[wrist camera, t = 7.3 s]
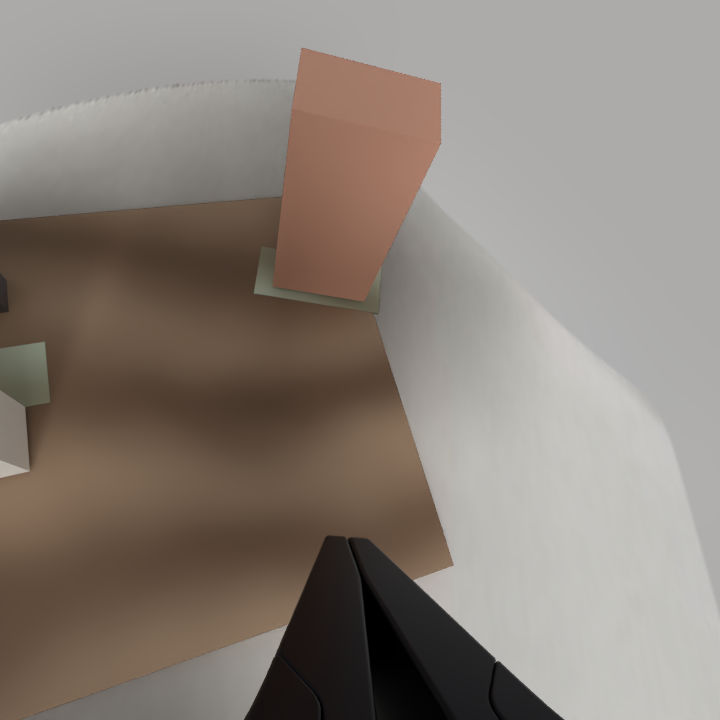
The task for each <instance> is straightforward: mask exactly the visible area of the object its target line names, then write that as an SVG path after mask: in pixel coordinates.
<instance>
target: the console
mask: <svg viewBox="0 0 720 720" xmlns="http://www.w3.org/2000/svg"><path fill="white" fill-rule="evenodd" d="M281 204H282V197H273V198H261V199H249V200H238V201H226V202H214V203H202V204H190V205H179V206H167V207H155V208H143V209H131V210H120V211H108V212H96V213H84V214H72V215H60V216H49V217H37V218H25V219H13V220H1V221H0V391H2V392H3V393H5V394H6V395H8V396H9V397H11V398H13V399H14V400H16V401H17V402H19V403H20V404H22V405H23V406H25V412H26V425H27V439H28V452H29V466H30V471H29V472H25V473H20V474H16V475H11V476H7V477H2V478H0V720H21V719H23V718H26V717H29V716H32V715H35V714H37V713H40V712H43V711H46V710H49V709H51V708H54V707H57V706H60V705H63V704H65V703H68V702H71V701H74V700H77V699H80V698H82V697H85V696H88V695H91V694H94V693H96V692H99V691H102V690H105V689H108V688H110V687H113V686H116V685H119V684H122V683H124V682H127V681H130V680H133V679H136V678H138V677H141V676H144V675H147V674H150V673H153V672H155V671H158V670H161V669H164V668H167V667H169V666H172V665H175V664H178V663H181V662H183V661H186V660H189V659H192V658H195V657H197V656H200V655H203V654H206V653H209V652H212V651H214V650H217V649H220V648H223V647H226V646H228V645H231V644H234V643H237V642H240V641H242V640H245V639H248V638H251V637H254V636H256V635H259V634H262V633H265V632H268V631H271V630H273V629H276V628H279V627H282V626H285V625H287V624H289V622H290V619H291V617H292V615H293V612H294V610H295V607H296V605H297V603H298V600H299V598H300V596H301V593H302V591H303V589H304V586H305V584H306V581H307V579H308V577H309V574H310V572H311V570H312V567H313V565H314V563H315V560H316V558H317V556H318V553H319V551H320V548H321V546H322V544H323V541H324V539H325V537H326V536H328V535H333V536H344V537H346V538H347V539H348V538H349V537H361V538H368V539H369V540H371V541H372V542H373V543H374V544H375V545H376V546H377V547H378V548H379V549H380V550H381V551H382V552H383V553H384V554H385V555H387V556H388V557H389V558H390V559H391V560H392V561H393V562H394V563H395V564H396V565H397V566H398V567H399V568H400V569H401V570H402V571H403V572H404V573H406V574H407V575H408V576H409V577H410V578H411V579H412V580H414V579H417V578H419V577H422V576H425V575H428V574H431V573H433V572H436V571H439V570H442V569H445V568H447V567H450V566H453V562H452V559H451V555H450V552H449V549H448V546H447V543H446V540H445V537H444V533H443V530H442V527H441V524H440V521H439V518H438V515H437V512H436V508H435V505H434V502H433V499H432V496H431V493H430V490H429V487H428V483H427V480H426V477H425V474H424V471H423V468H422V465H421V461H420V458H419V455H418V452H417V449H416V446H415V443H414V440H413V436H412V433H411V430H410V427H409V424H408V421H407V418H406V415H405V411H404V408H403V405H402V402H401V399H400V396H399V393H398V389H397V386H396V383H395V380H394V377H393V374H392V371H391V368H390V364H389V361H388V358H387V355H386V352H385V349H384V346H383V342H382V339H381V336H380V333H379V330H378V327H377V324H376V321H375V317H374V314H379V302H380V283H381V268H380V270H379V272H378V274H377V276H376V278H375V280H374V282H373V284H372V286H371V289H370V291H369V293H368V295H367V297H366V299H365V301H364V302H362V301H356V300H350V299H344V298H338V297H332V296H326V295H320V294H314V293H308V292H302V291H296V290H290V289H284V288H278V287H272V286H273V277H274V268H275V259H276V250H277V241H278V232H279V223H280V214H281ZM373 313H374V314H373Z"/></svg>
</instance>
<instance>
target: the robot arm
mask: <svg viewBox="0 0 720 720" xmlns="http://www.w3.org/2000/svg"><path fill="white" fill-rule="evenodd" d="M495 662H496V660H495V658H494V657H493V656H492V655H491V654H490V653H489V652H488V651H487V650H486V649H485V648H484V647H483V646H482V645H481V644H479V643H478V642H477V641H476V640H475V639H474V638H473V637H472V636H471V635H470V634H469V633H468V632H467V631H466V630H465V629H464V628H463V627H462V626H460V625H459V624H458V623H457V622H456V621H455V620H454V619H453V618H452V617H451V616H450V615H449V614H448V613H447V612H446V611H445V610H444V609H443V608H441V607H440V606H439V605H438V604H437V603H436V602H435V601H434V600H433V599H432V598H431V597H430V596H429V595H428V594H427V593H426V592H425V591H423V590H422V589H421V588H420V587H419V586H418V585H417V584H416V583H415V582H414V581H413V580H412V579H411V578H410V577H409V576H408V575H407V574H406V573H404V572H403V571H402V570H401V569H400V568H399V567H398V566H397V565H396V564H395V563H394V562H393V561H392V560H391V559H390V558H389V557H388V556H387V555H385V554H384V553H383V552H382V551H381V550H380V549H379V548H378V547H377V546H376V545H375V544H374V543H373V542H372V541H371V540H369V539H368V538H361V537H349V538H348V539H347V538H346V537H344V536H333V535H328V536H326V537H325V539H324V541H323V544H322V546H321V548H320V551H319V553H318V556H317V558H316V560H315V563H314V565H313V567H312V570H311V572H310V574H309V577H308V579H307V581H306V584H305V586H304V589H303V591H302V593H301V596H300V598H299V600H298V603H297V605H296V607H295V610H294V612H293V615H292V617H291V619H290V622H289V624H288V626H287V629H286V631H285V633H284V636H283V638H282V640H281V643H280V645H279V648H278V650H277V652H276V655H275V657H274V658H273V661H272V663H271V665H270V668H269V670H268V672H267V675H266V677H265V679H264V681H263V683H262V686H261V688H260V690H259V692H258V694H257V696H256V698H255V700H254V702H253V704H252V706H251V708H250V710H249V712H248V713H247V715H246V717H245V719H244V720H564V719H563V718H562V717H561V716H559V715H558V714H557V713H556V712H555V711H553V710H552V709H551V708H550V707H549V706H547V705H546V704H545V703H544V702H543V701H542V700H541V699H540V698H539V697H537V696H536V695H535V694H534V693H533V692H532V691H531V690H530V689H529V688H528V687H526V686H525V685H524V684H523V683H522V682H521V681H520V680H519V679H518V678H517V677H515V676H514V675H513V674H512V673H511V672H510V671H509V670H508V669H507V668H506V667H505V666H504V665H503V664H502V663H501V662H499V661H497V662H496V663H495Z"/></svg>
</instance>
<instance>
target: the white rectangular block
mask: <svg viewBox="0 0 720 720" xmlns="http://www.w3.org/2000/svg"><path fill="white" fill-rule="evenodd" d="M29 471H30V466H29V452H28V439H27V425H26V412H25V406H23V405H22V404H20V403H19V402H17V401H16V400H14V399H13V398H11V397H9V396H8V395H6V394H5V393H3V392H2V391H0V478H2V477H7V476H11V475H16V474H20V473H25V472H29Z"/></svg>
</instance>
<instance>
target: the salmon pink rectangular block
mask: <svg viewBox="0 0 720 720" xmlns="http://www.w3.org/2000/svg"><path fill="white" fill-rule="evenodd" d="M440 144H441V83H436V82H433V81H429V80H425V79H421V78H417V77H413V76H410V75H406V74H402V73H398V72H394V71H390V70H386V69H383V68H378V67H375V66H371V65H367V64H363V63H359V62H355V61H351V60H348V59H344V58H339V57H336V56H332V55H328V54H324V53H320V52H316V51H312V50H309V49H305V48H302V49H301V55H300V62H299V68H298V74H297V80H296V87H295V93H294V99H293V106H292V113H291V123H290V132H289V141H288V150H287V159H286V168H285V177H284V186H283V195H282V204H281V214H280V223H279V232H278V241H277V250H276V259H275V268H274V277H273V286H272V287H278V288H284V289H290V290H296V291H302V292H308V293H314V294H320V295H326V296H332V297H338V298H344V299H350V300H356V301H362V302H364V301H365V299H366V297H367V295H368V293H369V291H370V289H371V286H372V284H373V282H374V280H375V278H376V276H377V274H378V272H379V270H380V268H381V266H382V264H383V262H384V260H385V258H386V256H387V254H388V251H389V249H390V247H391V245H392V243H393V241H394V239H395V237H396V235H397V233H398V231H399V229H400V227H401V225H402V223H403V221H404V218H405V216H406V214H407V212H408V210H409V208H410V206H411V204H412V202H413V200H414V198H415V196H416V194H417V192H418V190H419V188H420V186H421V183H422V181H423V179H424V177H425V175H426V173H427V171H428V169H429V167H430V165H431V163H432V161H433V158H434V157H435V155H436V153H437V151H438V148H439V146H440Z"/></svg>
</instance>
